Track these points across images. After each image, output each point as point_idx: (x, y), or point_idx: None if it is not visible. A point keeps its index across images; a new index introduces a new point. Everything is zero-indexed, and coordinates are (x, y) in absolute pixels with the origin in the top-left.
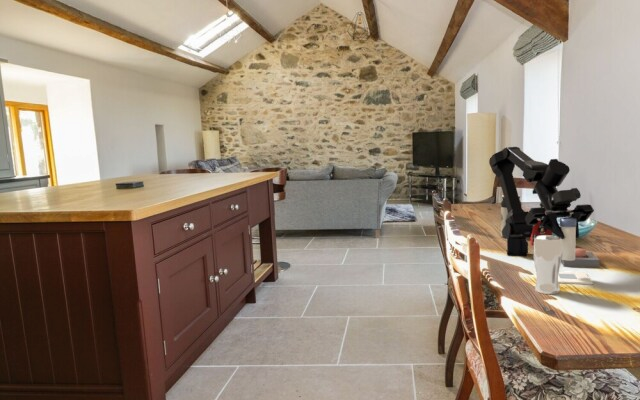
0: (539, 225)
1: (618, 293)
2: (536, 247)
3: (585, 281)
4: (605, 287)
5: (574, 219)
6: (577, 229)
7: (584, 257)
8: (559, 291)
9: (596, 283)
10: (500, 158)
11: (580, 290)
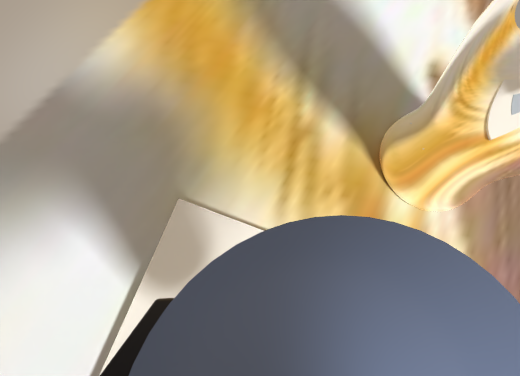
0: None
1: (152, 71)
2: None
3: (198, 229)
4: (148, 152)
5: (233, 294)
6: (124, 373)
7: None
8: (388, 129)
9: (147, 218)
10: None
11: (285, 137)
